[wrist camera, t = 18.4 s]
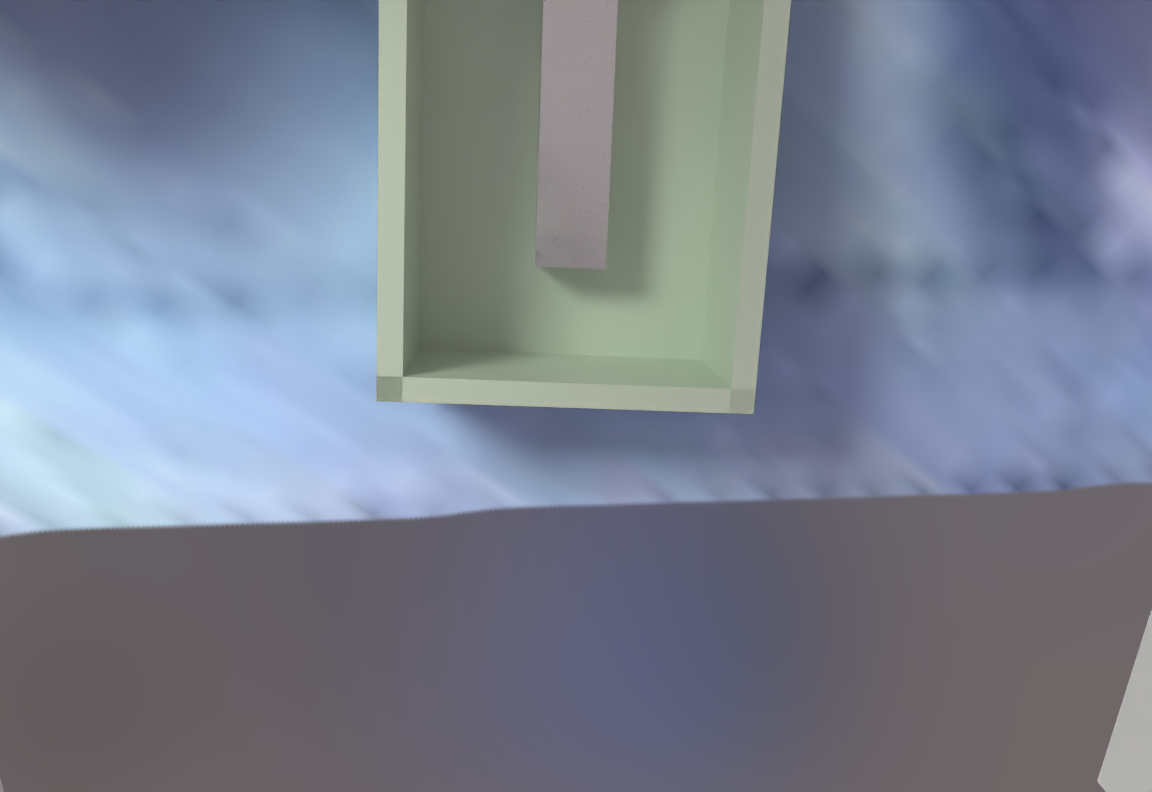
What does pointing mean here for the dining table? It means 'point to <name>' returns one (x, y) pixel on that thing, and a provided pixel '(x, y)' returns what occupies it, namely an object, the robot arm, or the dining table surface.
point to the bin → (635, 218)
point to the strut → (575, 132)
